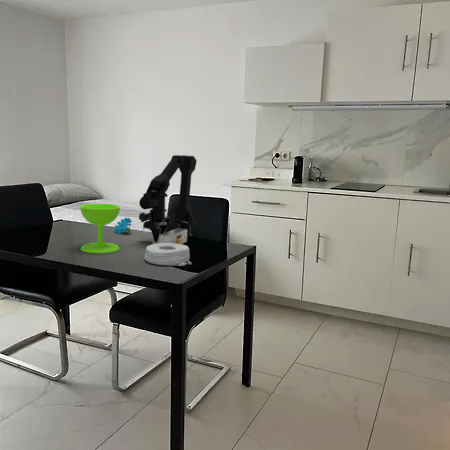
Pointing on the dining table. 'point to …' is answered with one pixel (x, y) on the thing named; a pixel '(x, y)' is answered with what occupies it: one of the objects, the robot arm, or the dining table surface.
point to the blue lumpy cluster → (123, 226)
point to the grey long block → (173, 236)
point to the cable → (167, 254)
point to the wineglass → (100, 225)
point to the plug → (179, 241)
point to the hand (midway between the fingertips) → (157, 241)
